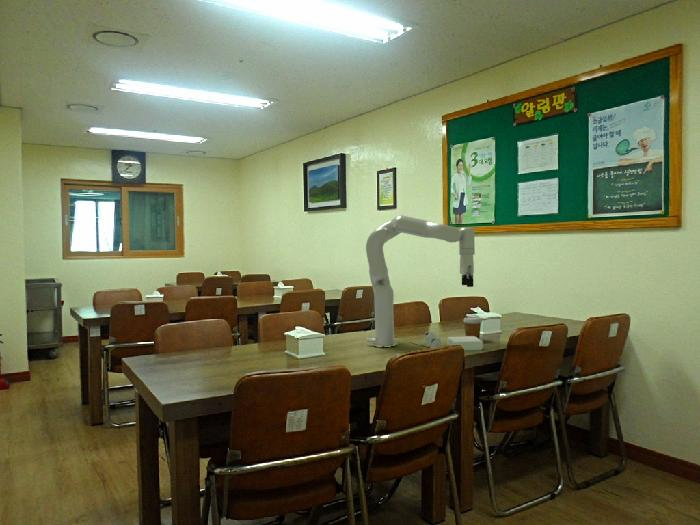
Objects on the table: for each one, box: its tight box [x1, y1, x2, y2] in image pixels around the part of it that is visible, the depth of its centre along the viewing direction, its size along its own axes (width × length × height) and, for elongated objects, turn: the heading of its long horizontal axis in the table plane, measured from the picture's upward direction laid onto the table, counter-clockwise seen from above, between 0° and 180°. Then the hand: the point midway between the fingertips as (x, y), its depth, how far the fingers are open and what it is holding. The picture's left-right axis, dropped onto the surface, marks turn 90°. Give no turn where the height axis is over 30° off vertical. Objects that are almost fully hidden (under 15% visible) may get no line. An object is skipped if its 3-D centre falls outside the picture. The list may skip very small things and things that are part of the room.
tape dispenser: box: [423, 331, 442, 349], centre depth 257 cm, size 6×7×10 cm
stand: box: [446, 335, 484, 351], centre depth 260 cm, size 14×14×4 cm
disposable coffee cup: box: [462, 316, 482, 339], centre depth 275 cm, size 10×10×12 cm
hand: (467, 286), depth 268 cm, fingers open, 9 cm apart
